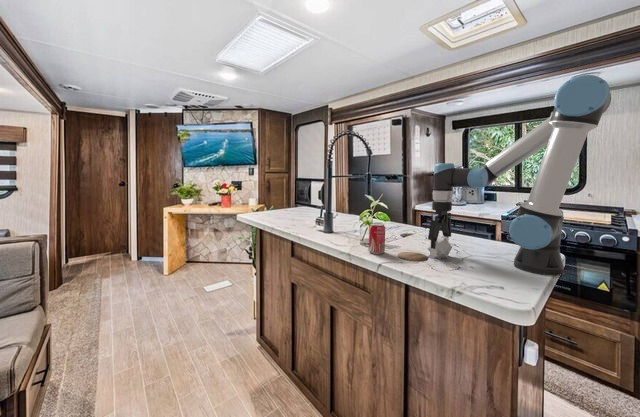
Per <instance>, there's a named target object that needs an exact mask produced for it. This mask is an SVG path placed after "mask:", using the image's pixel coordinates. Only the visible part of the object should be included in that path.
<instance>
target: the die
mask: <svg viewBox="0 0 640 417" xmlns="http://www.w3.org/2000/svg"><path fill="white" fill-rule="evenodd" d="M437 241H438V251H437V257H435V256H433V257H434V258H447V256H449V255H450V253H451V250H452V249H453V246H452V245H451V244H450V242H449V241H447V240H446V239H445V238H442V237H438V238H437ZM430 246H431V240H429V244H428V246H427V248H426V249H427V250H428V252H429V253H430Z"/></svg>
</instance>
